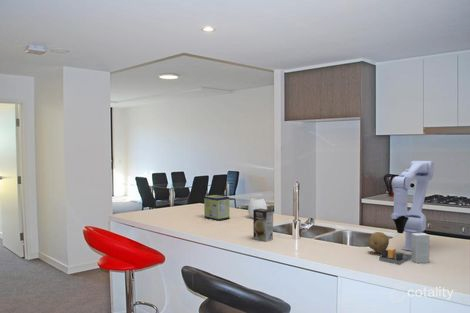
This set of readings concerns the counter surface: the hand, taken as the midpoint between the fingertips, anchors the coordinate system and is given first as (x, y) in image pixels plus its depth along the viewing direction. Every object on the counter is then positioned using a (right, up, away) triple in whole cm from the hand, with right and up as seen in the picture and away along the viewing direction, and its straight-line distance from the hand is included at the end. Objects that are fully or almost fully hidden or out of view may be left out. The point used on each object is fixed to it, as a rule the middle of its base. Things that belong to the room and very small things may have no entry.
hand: (400, 232), depth 183 cm
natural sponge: (-8, -11, +5) cm, 14 cm away
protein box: (-87, -9, +96) cm, 131 cm away
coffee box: (-60, -10, +34) cm, 70 cm away
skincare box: (+5, -11, -9) cm, 15 cm away
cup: (-59, -8, +98) cm, 114 cm away
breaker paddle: (-7, -9, -8) cm, 14 cm away
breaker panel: (-4, -11, -5) cm, 13 cm away
